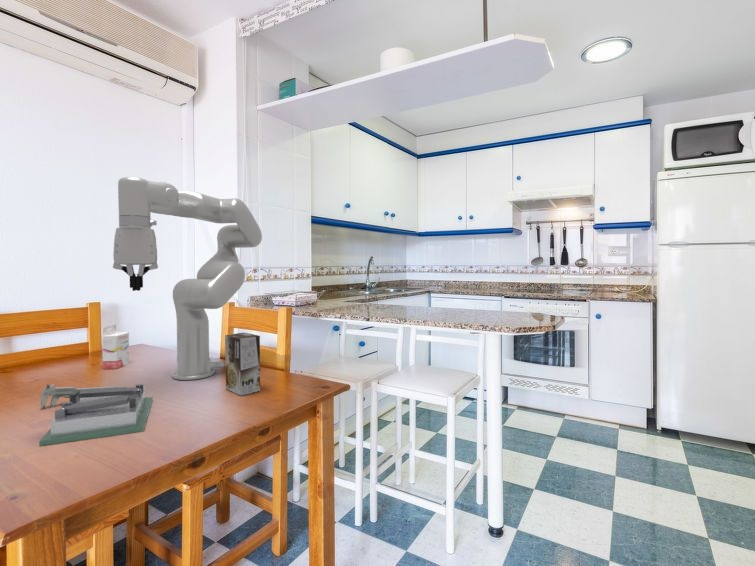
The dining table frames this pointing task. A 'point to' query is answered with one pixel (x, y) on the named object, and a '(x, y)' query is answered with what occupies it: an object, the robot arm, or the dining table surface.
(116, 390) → the strap
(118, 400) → the strap
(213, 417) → the dining table surface
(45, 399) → the caliper
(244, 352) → the coffee box
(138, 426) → the base
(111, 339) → the ink cartridge box
